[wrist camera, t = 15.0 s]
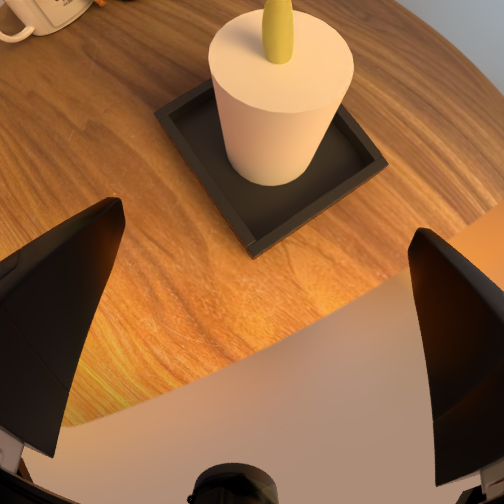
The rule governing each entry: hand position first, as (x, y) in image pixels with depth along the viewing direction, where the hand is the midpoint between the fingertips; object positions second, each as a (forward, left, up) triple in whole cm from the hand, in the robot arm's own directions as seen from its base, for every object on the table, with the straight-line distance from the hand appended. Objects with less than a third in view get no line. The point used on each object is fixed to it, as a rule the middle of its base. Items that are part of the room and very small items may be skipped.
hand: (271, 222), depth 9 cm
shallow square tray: (+6, -5, -14) cm, 16 cm away
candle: (+6, -5, -13) cm, 15 cm away
